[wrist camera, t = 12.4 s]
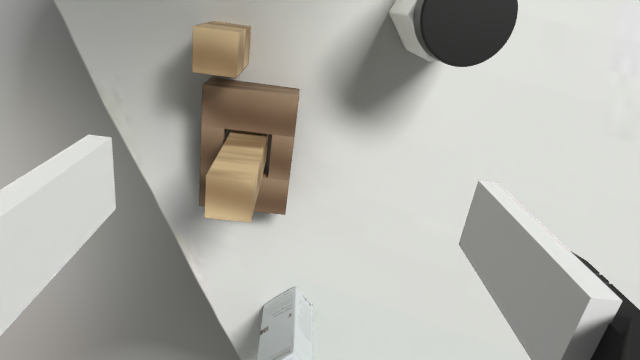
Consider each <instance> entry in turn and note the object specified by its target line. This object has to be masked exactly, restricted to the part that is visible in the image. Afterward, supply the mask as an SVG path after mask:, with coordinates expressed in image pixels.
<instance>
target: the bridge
mask: <svg viewBox="0 0 640 360" xmlns="http://www.w3.org/2000/svg"><path fill="white" fill-rule="evenodd" d="M298 101H299V89H296V88H288V87H280V86H273V85H265V84H258V83H250V82H242V81H235V80H227V79H219V78H212V77H211V78H210V79H209V80H208V81H207V82H205V83H204V84H203V85H202V121H201V157H200V193H199V206H205V192H206V175H207V173H208V171H209V169H210V168H211V166H212V164H213V162H214V160H215V159H216V157H217V155H218V153H219V152H220V150H221V148H222V146H223V145H224V143H225V141H226V129H231V130H239V131H247V132H255V133H263V134H272V143H271V153H270V163H269V173H263V175H262V179H261V183H260V187H259V191H258V195H257V199H256V203H255V208H254V211H255V212H265V213H274V214H284V215H285V212H286V203H287V195H288V186H289V178H290V169H291V161H292V152H293V144H294V135H295V127H296V118H297V110H298Z"/></svg>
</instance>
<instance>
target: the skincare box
mask: <svg viewBox="0 0 640 360" xmlns="http://www.w3.org/2000/svg"><path fill="white" fill-rule="evenodd" d="M257 360H314V348H313V304H312V303H311V302H310V301H309V300H308V298H307V297H306V296H305V295H304V294H303V293H302V292H301V291H300V290H299V288H298V287H293V288H291V289H289V290H288V291H286V292H284V293H282V294H280V295H279V296H277V297H275V298H274V299H272V300H271V301H269V302H268V303H266V304H265V305H264V307H263V314H262V322H261V330H260V338H259V345H258V353H257Z"/></svg>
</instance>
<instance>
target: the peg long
mask: <svg viewBox="0 0 640 360" xmlns="http://www.w3.org/2000/svg"><path fill="white" fill-rule="evenodd" d="M268 136H269V134H263V133H255V132H247V131H239V130H231V132H230V134H229V136H228V137H227V139H226V141H225V143H224V145H223V146H222V148H221V150H220V152H219V153H218V155H217V157H216V159H215V160H214V162H213V164H212V166H211V168H210V169H209V171H208V173H207V175H206V192H205V218H213V219H223V220H233V221H242V222H251V220H252V216H253V212H254V208H255V203H256V199H257V195H258V191H259V187H260V183H261V179H262V175H263V171H264V167H265V163H266V158H267V147H268Z"/></svg>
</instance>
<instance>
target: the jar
mask: <svg viewBox="0 0 640 360" xmlns="http://www.w3.org/2000/svg"><path fill="white" fill-rule="evenodd" d="M517 13H518V1H517V0H396V1H395V3H394V4H393V6H392V7H391V9H390V11H389V14H390V16H391V18H392V20H393V23H394V25H395V27H396V29H397V32H398V34H399V36H400V38H401V40H402V43H403V45H404V47H405V49H406V50H407V51H409V52H411V53H413V54H415V55H417V56H419V57H421V58H423V59H425V60H427V61H441V62H443V63H445V64H448V65H451V66H456V67H467V66H473V65H477V64H479V63H482V62H484V61H486V60H488V59H489V58H491V57H492V56H494V55H495V54H496V53H497V52H498V51H499V50H500V49H501V48H502V47H503V46H504V45H505V43H506V42H507V40H508V39H509V37H510V35H511V33H512V31H513V29H514V26H515V23H516V19H517Z"/></svg>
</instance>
